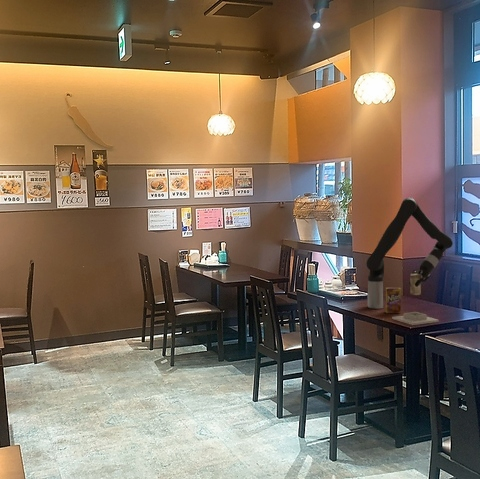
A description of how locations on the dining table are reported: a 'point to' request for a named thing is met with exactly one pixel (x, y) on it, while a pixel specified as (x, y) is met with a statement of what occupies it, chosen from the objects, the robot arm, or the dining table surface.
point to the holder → (415, 318)
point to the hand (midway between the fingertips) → (413, 285)
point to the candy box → (393, 300)
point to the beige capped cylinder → (413, 280)
